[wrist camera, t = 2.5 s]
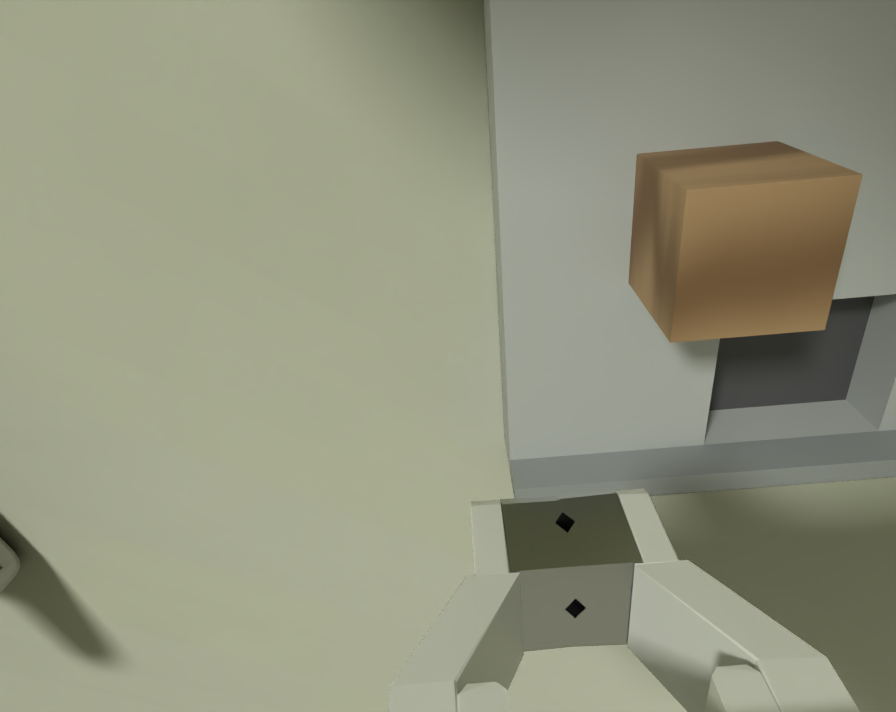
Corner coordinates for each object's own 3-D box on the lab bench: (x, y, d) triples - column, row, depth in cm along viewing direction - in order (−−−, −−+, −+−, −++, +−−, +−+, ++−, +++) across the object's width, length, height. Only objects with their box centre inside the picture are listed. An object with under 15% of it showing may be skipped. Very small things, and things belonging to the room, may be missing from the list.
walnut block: (636, 153, 22) (686, 190, 18) (778, 141, 22) (862, 174, 18) (628, 283, 25) (670, 342, 20) (755, 272, 24) (825, 329, 20)
